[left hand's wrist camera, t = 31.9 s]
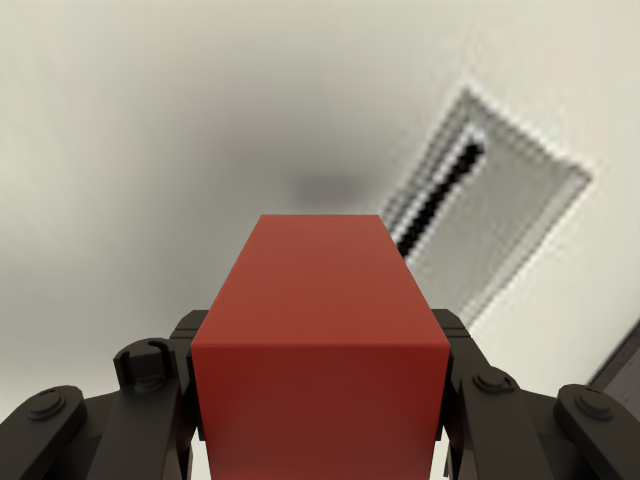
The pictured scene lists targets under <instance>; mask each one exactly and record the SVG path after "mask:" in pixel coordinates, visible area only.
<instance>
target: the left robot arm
mask: <svg viewBox="0 0 640 480" xmlns="http://www.w3.org/2000/svg"><path fill="white" fill-rule="evenodd" d="M431 311H432V313H433V314H434V316H435V318H436V320H437V322H438V324H439V325H440V327H441V329H442V331H443V333H444V334H445V336H446V338H447V340H448V342H449V343H450V351H449V357H448V364H447V370H446V376H445V383H444V389H443V396H442V402H441V408H440V415H439V421H438V427H437V434H436V440H435V441H441V436H442V430H443V425H444V428H445V430H446V433H447V435H448V438H449V446H448V452H447V457H446V463H445V469H444V475H443V477H448V474H449V480H640V422H639V421H638V420H637V419H636V418H635V417H634V416H633V415H632V414H631V413H630V412H629V411H628V410H627V409H626V408H625V407H624V406H623V405H622V404H620V403H619V402H618V401H617V400H615V399H614V398H613V397H611V396H609V395H608V394H606V393H604V392H602V391H600V390H598V389H595V388H592V387H589V386H586V385H579V384H569V385H564V386H563V387H562V388H561V389H559V392H558V395H557V398H555V397H550V396H546V395H542V394H537V393H533V392H529V391H526V390H522V389H520V387H519V385H518V384H517V382H516V381H515V379H513V378H512V377H511V376H510V375H508V374H507V373H506V372H504V371H502V370H500V369H498V368H496V367H492V366H490V364H489V363H488V361H487V360H486V358H485V357H484V355H483V354H482V352H481V350H480V349H479V347H478V346H477V344H476V343H475V341H474V340H473V338H471V335H470V334H469V332H468V331H467V330H466V329H465V326H464V325H463V323H462V322H461V320H460V319H459V317H457V316H456V315H454V314H453V313H452V312H450V311H449V310H448V309H431ZM208 312H209V310H193V311H191V312H190V313H189V314H187V315H186V316H185V317H183V318H182V319H181V320H180V322H179V323H178V325H177V326H176V328H175V331H173V333H172V334H171V336H170V339H168V340H167V339H163V338H148V339H144V340H140V341H137V342H135V343H132V344H130V345H128V346H126V347H125V348H124V349H122V350H121V351H119V352H118V354H117V355H116V356H115V358H114V359H113V361H114V365H115V369H116V373H117V377H118V381H119V385H120V390H119V391H116V392H113V393H109V394H105V395H101V396H96V397H92V398H87V399H84V397H83V394H82V391H81V390H80V389H78V388H77V387H75V386H69V385H65V386H57V387H53V388H50V389H47V390H44V391H41V392H40V393H38V394H36V395H34V396H32V397H30V398H29V399H27V400H26V401H25V402H24V403H22V404H21V405H20V406H19V407H17V408H16V409H15V410H14V411H13V412H12V413H11V414H10V415H9V416H8V417H7V418H6V419H5V420H4V421H3V422H2V423H1V424H0V480H191V472H192V461H193V452H192V446H191V440H192V438H193V435H194V433H195V430H196V427H197V429H198V435H199V441H205V436H204V430H203V423H202V417H201V410H200V404H199V397H198V391H197V385H196V378H195V372H194V365H193V359H192V353H191V343H192V341H193V340H194V338H195V336H196V334H197V332H198V330H199V329H200V327H201V325H202V323H203V321H204V319H205V318H206V316H207V314H208Z"/></svg>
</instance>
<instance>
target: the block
mask: <svg viewBox="0 0 640 480" xmlns="http://www.w3.org/2000/svg"><path fill="white" fill-rule="evenodd" d="M449 351H450V343H449V342H448V340H447V338H446V336H445V334H444V333H443V331H442V329H441V327H440V325H439V324H438V322H437V320H436V318H435V316H434V314H433V313H432V311H431V309H430V307H429V305H428V304H427V302H426V300H425V298H424V296H423V295H422V293H421V291H420V289H419V287H418V286H417V284H416V282H415V280H414V278H413V276H412V275H411V273H410V271H409V269H408V267H407V266H406V264H405V262H404V260H403V258H402V257H401V255H400V253H399V251H398V249H397V247H396V246H395V244H394V242H393V240H392V238H391V237H390V235H389V233H388V231H387V229H386V228H385V226H384V224H383V222H382V220H381V218H380V217H379V215H261V217H260V218H259V220H258V222H257V224H256V226H255V228H254V229H253V231H252V233H251V235H250V237H249V239H248V240H247V242H246V244H245V246H244V248H243V250H242V251H241V253H240V255H239V257H238V259H237V261H236V262H235V264H234V266H233V268H232V270H231V272H230V273H229V275H228V277H227V279H226V281H225V283H224V285H223V286H222V288H221V290H220V292H219V294H218V296H217V297H216V299H215V301H214V303H213V305H212V307H211V308H210V310H209V312H208V314H207V316H206V318H205V319H204V321H203V323H202V325H201V327H200V329H199V330H198V332H197V334H196V336H195V338H194V340H193V341H192V343H191V353H192V359H193V365H194V372H195V378H196V385H197V391H198V397H199V404H200V410H201V417H202V423H203V430H204V436H205V442H206V449H207V455H208V462H209V468H210V474H211V480H429V478H430V472H431V466H432V459H433V453H434V447H435V440H436V434H437V427H438V421H439V415H440V408H441V402H442V396H443V389H444V383H445V376H446V370H447V364H448V357H449Z"/></svg>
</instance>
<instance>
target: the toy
mask: <svg viewBox="0 0 640 480" xmlns="http://www.w3.org/2000/svg"><path fill="white" fill-rule="evenodd" d="M591 387H592V388H595V389H598V390H600V391H602V392H604V393H606V394H608V395H609V396H611V397H613V398H614V399H615V400H617V401H618V402H619V403H620V404H622V405H623V406H624V407H625V408H626V409H627V410H628V411H629V412H630V413H631V414H632V415H633V416H634V417H635V418H636V419H637V420H638V421H639V422H640V327H639V328H638V329H637V330H636V332H635V333H634V334H633V335H632V337H631V338H630V339H629V340H628V342H627V343H626V344H625V345H624V347H623V348H622V349H621V350H620V351H619V353H618V354H617V355H616V356H615V358H614V359H613V360H612V361H611V363H610V364H609V365H608V366H607V367H606V369H605V370H604V371H603V372H602V374H601V375H600V376H599V377H598V379H597V380H596V381H595V382H594V384H593V385H592V386H591Z"/></svg>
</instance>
